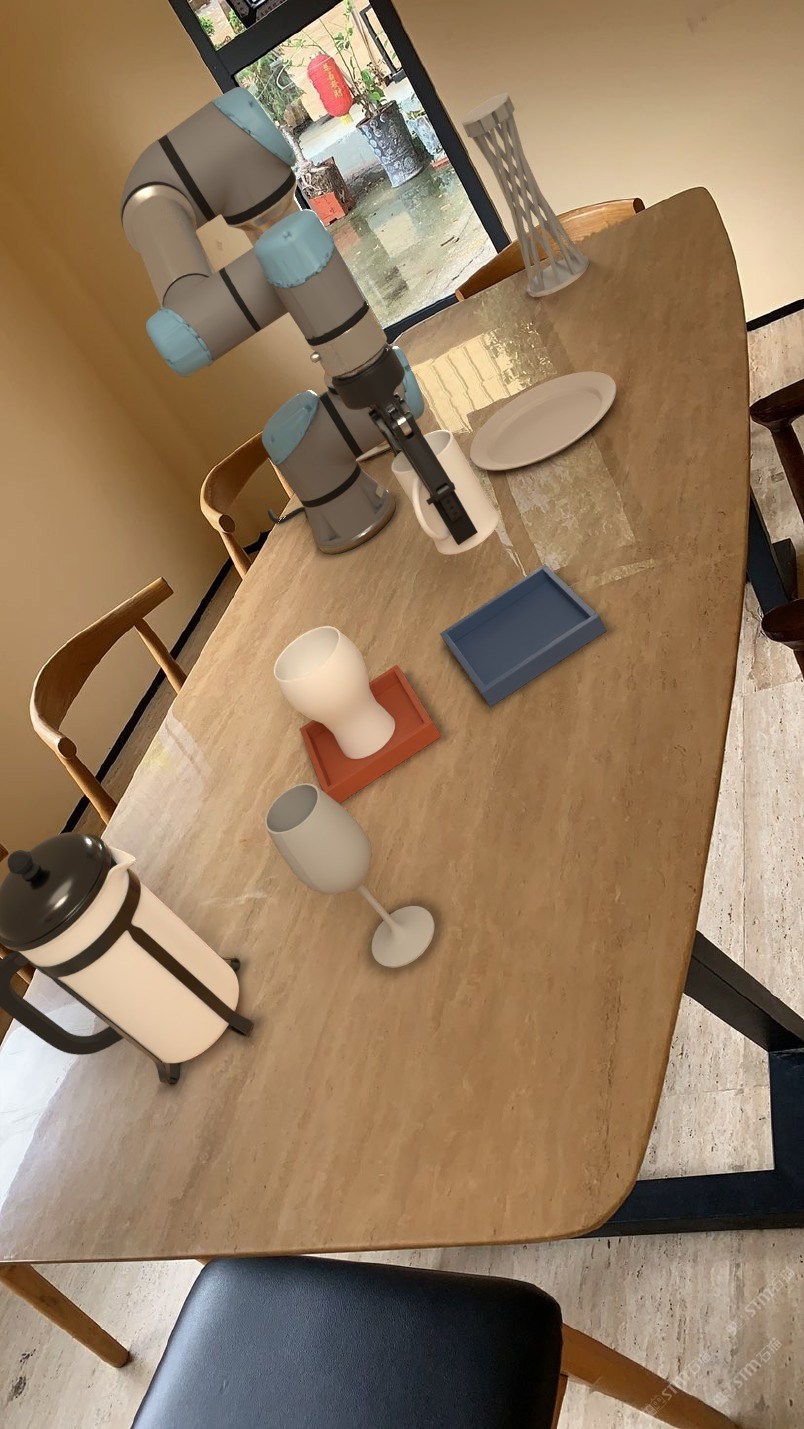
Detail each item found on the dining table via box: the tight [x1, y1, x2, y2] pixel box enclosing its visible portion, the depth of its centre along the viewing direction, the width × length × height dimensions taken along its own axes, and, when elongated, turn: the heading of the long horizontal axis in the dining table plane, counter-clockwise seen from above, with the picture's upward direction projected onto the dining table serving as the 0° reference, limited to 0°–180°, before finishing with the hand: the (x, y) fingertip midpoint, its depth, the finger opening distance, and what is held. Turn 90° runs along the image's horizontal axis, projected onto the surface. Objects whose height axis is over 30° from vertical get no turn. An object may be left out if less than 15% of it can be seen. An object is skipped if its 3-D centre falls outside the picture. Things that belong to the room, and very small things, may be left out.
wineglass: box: [264, 782, 436, 969], centre depth 100 cm, size 8×8×21 cm
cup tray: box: [299, 664, 442, 805], centre depth 132 cm, size 16×16×2 cm
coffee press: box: [0, 831, 255, 1086], centre depth 103 cm, size 17×16×30 cm
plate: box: [469, 371, 617, 471], centre depth 169 cm, size 26×26×2 cm
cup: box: [272, 625, 395, 759], centre depth 128 cm, size 11×11×15 cm
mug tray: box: [439, 563, 607, 708], centre depth 131 cm, size 17×17×2 cm
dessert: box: [356, 441, 391, 463], centre depth 198 cm, size 12×12×5 cm
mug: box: [390, 429, 500, 556], centre depth 122 cm, size 12×8×12 cm
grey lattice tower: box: [461, 92, 591, 298], centre depth 204 cm, size 14×13×35 cm
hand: (453, 523), depth 124 cm, fingers closed on mug, 9 cm apart
